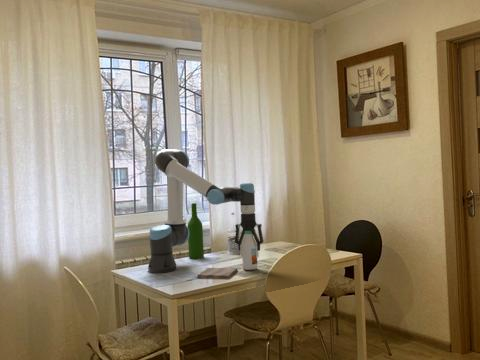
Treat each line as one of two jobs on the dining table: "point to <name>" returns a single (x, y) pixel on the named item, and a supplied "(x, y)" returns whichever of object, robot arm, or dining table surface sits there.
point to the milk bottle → (249, 252)
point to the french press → (233, 242)
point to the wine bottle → (195, 235)
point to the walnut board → (217, 273)
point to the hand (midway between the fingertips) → (249, 256)
